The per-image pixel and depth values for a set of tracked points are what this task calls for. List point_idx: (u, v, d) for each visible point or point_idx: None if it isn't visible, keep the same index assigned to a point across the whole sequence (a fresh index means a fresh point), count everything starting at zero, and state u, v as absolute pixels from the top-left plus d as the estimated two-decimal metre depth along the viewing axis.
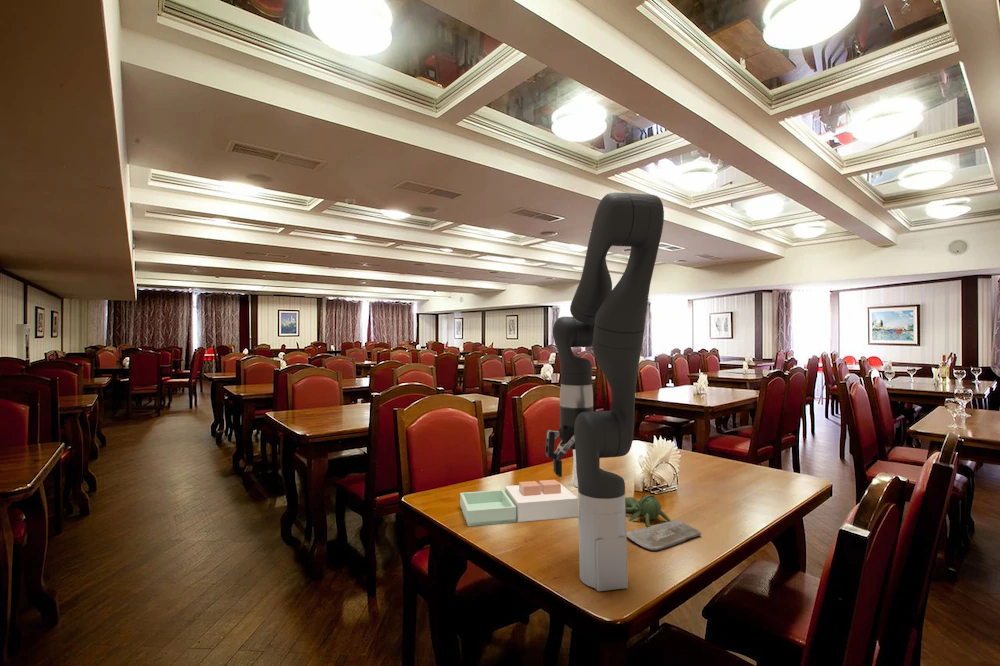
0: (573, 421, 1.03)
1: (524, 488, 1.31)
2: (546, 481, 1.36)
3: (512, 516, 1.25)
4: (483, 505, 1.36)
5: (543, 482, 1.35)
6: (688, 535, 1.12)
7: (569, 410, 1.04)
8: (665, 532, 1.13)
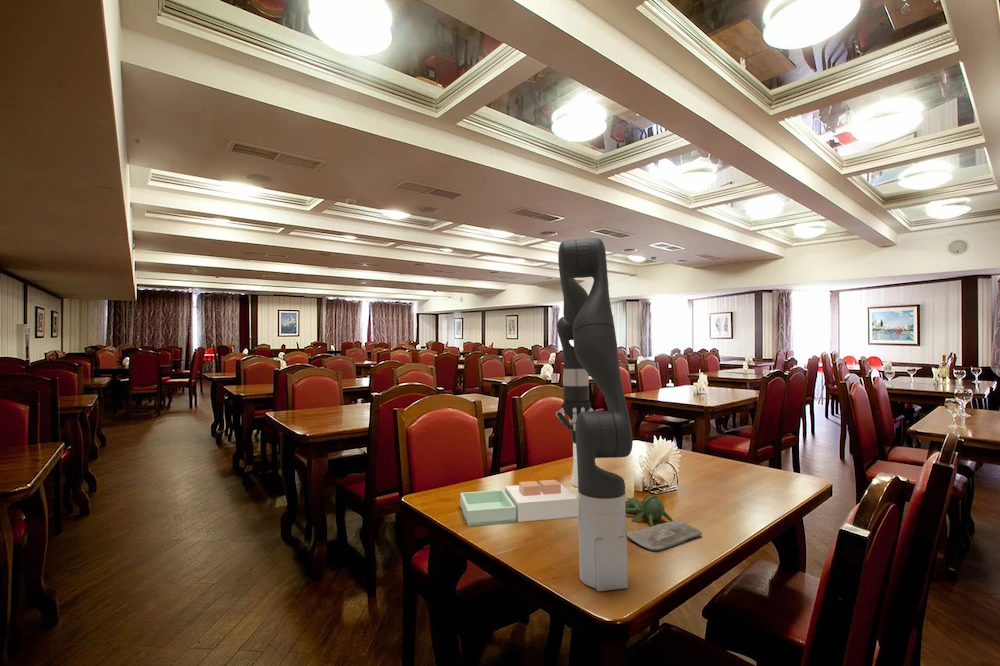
0: (573, 396, 1.34)
1: (524, 488, 1.31)
2: (546, 481, 1.36)
3: (512, 516, 1.25)
4: (483, 505, 1.36)
5: (543, 482, 1.35)
6: (689, 535, 1.12)
7: (570, 388, 1.35)
8: (666, 532, 1.13)
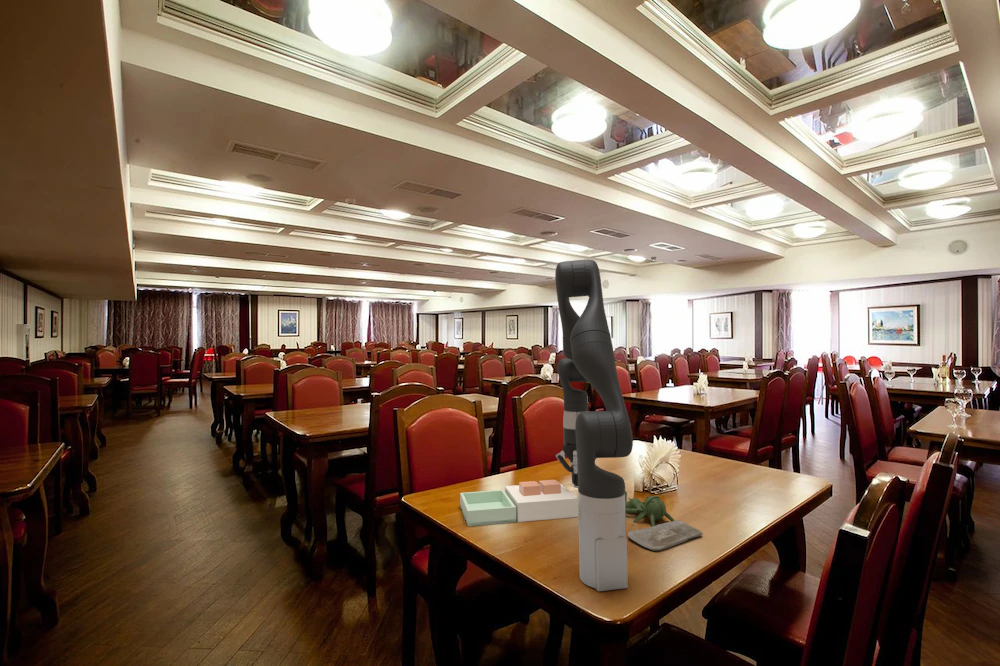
0: (574, 439, 1.34)
1: (524, 488, 1.31)
2: (546, 481, 1.36)
3: (512, 516, 1.25)
4: (483, 505, 1.36)
5: (543, 482, 1.35)
6: (689, 535, 1.12)
7: (570, 431, 1.34)
8: (666, 532, 1.13)
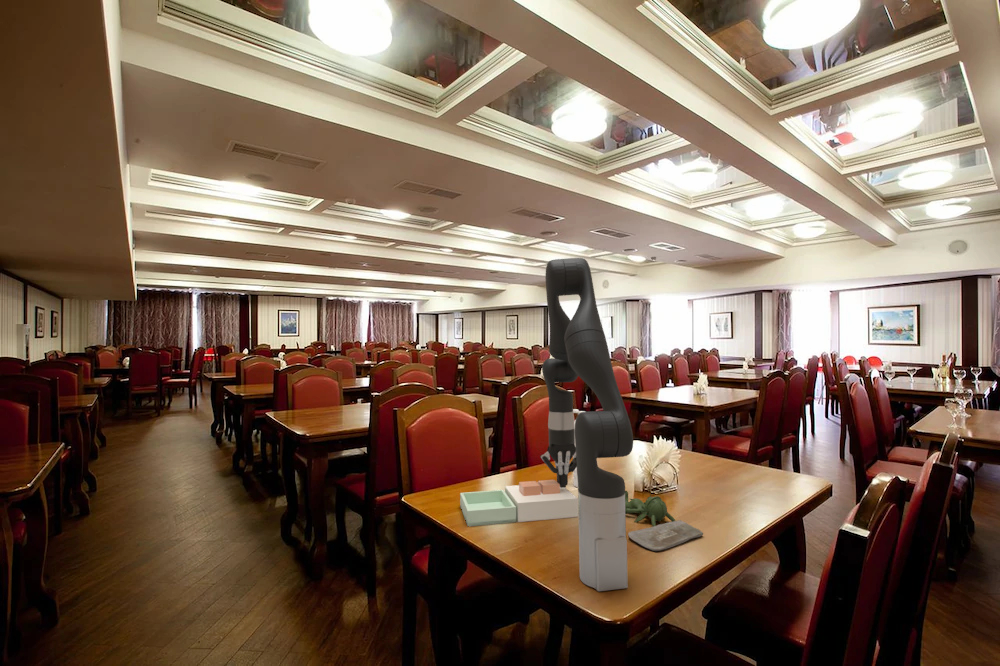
0: (558, 440, 1.33)
1: (524, 488, 1.31)
2: (545, 481, 1.36)
3: (512, 516, 1.25)
4: (483, 505, 1.36)
5: (542, 482, 1.35)
6: (690, 535, 1.12)
7: (555, 432, 1.33)
8: (667, 532, 1.13)
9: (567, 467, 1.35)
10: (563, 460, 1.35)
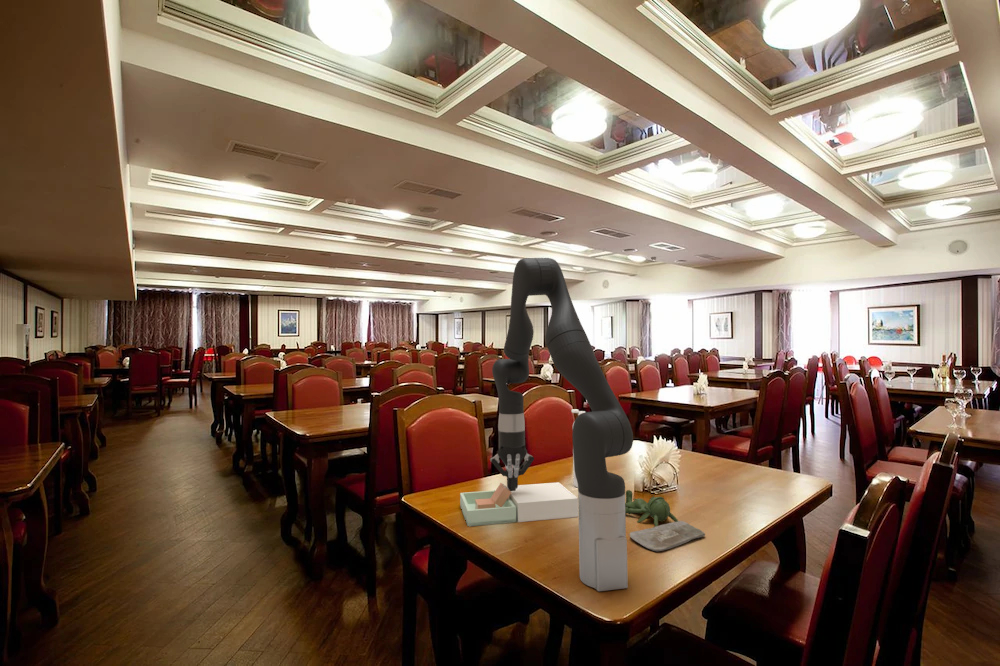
0: (507, 443, 1.30)
1: None
2: (495, 493, 1.33)
3: (512, 516, 1.25)
4: None
5: (493, 497, 1.33)
6: (692, 536, 1.11)
7: (504, 434, 1.30)
8: (669, 533, 1.13)
9: (517, 470, 1.32)
10: (513, 463, 1.32)
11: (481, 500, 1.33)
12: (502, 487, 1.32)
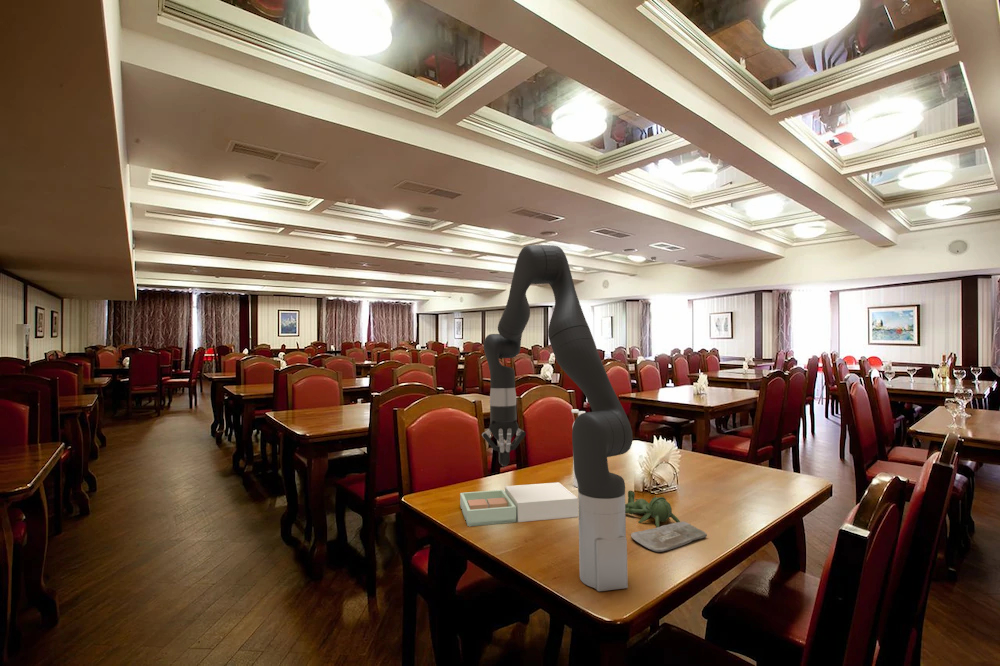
0: (498, 417, 1.30)
1: None
2: (494, 499, 1.33)
3: (512, 516, 1.25)
4: None
5: (490, 500, 1.32)
6: (694, 536, 1.11)
7: (495, 408, 1.30)
8: (670, 533, 1.12)
9: (509, 445, 1.32)
10: (504, 438, 1.32)
11: (473, 501, 1.32)
12: (504, 501, 1.32)
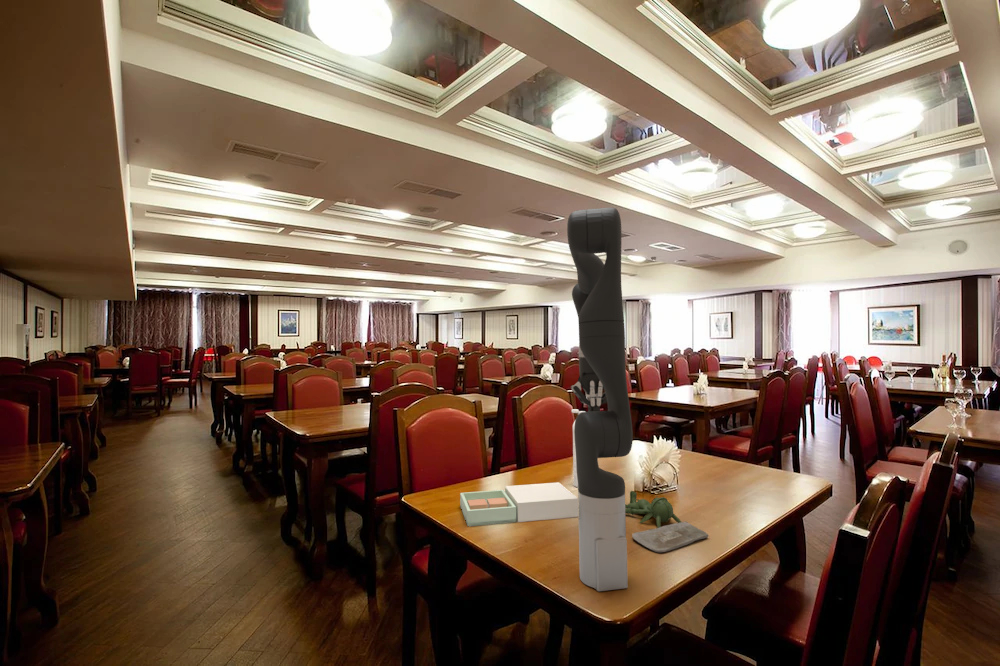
0: (591, 368, 1.23)
1: None
2: (494, 499, 1.33)
3: (512, 516, 1.25)
4: None
5: (490, 500, 1.32)
6: (695, 537, 1.11)
7: None
8: (672, 534, 1.12)
9: (599, 398, 1.26)
10: (595, 391, 1.26)
11: (473, 501, 1.32)
12: (504, 501, 1.32)
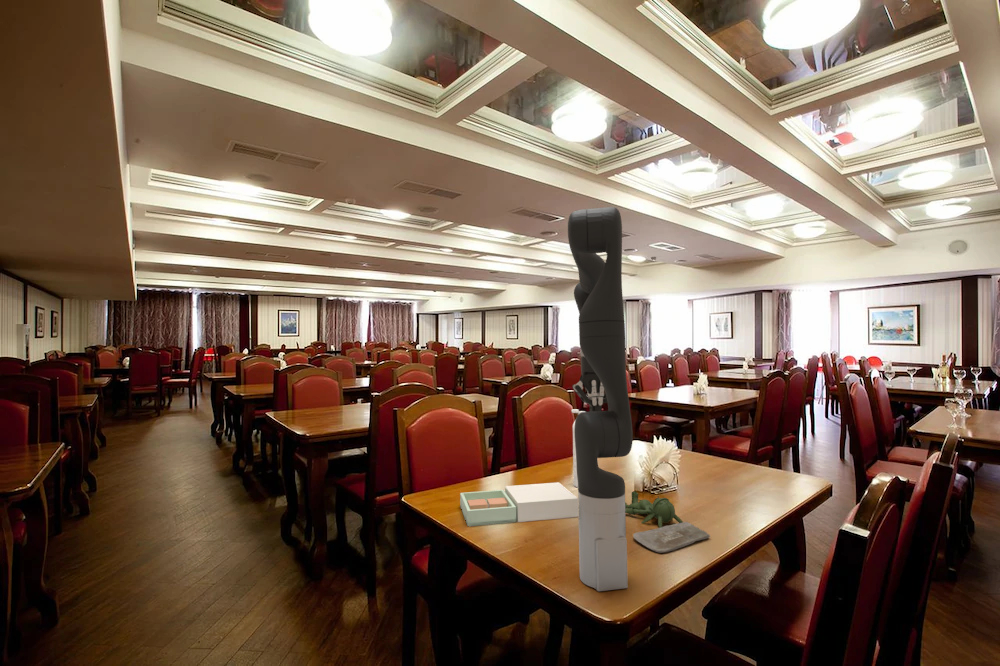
0: None
1: None
2: (494, 499, 1.33)
3: (512, 516, 1.25)
4: None
5: (490, 500, 1.32)
6: (696, 537, 1.10)
7: None
8: (673, 534, 1.12)
9: (601, 397, 1.25)
10: (597, 390, 1.25)
11: (473, 501, 1.32)
12: (504, 501, 1.32)
